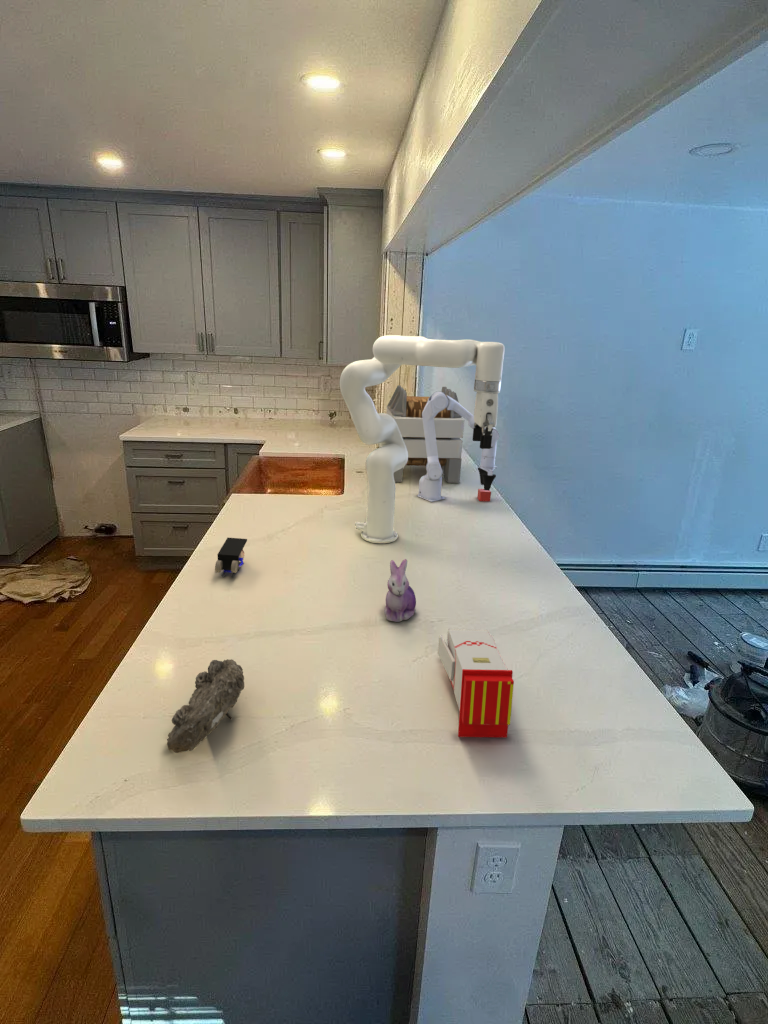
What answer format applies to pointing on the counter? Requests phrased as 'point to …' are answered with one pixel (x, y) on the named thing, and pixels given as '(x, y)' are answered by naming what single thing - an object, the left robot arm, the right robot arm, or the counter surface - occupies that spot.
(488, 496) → the cube
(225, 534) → the counter surface
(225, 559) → the figurine character
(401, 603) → the figurine
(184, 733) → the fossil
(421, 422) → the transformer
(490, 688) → the toy
